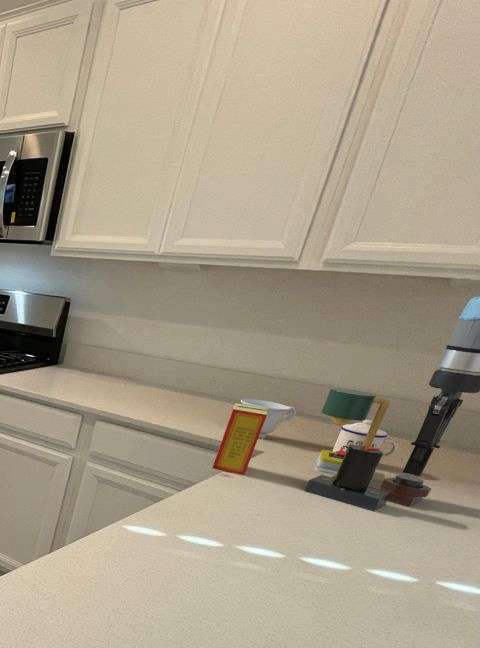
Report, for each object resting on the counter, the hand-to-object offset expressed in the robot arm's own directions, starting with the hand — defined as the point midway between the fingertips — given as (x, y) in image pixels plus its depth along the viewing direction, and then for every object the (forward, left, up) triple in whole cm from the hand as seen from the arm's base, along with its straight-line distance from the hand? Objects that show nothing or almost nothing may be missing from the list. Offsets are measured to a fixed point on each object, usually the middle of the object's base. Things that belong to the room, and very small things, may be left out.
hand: (411, 473), depth 133 cm
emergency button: (+14, -14, -7) cm, 21 cm away
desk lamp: (+13, 0, -2) cm, 13 cm away
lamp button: (0, 0, -3) cm, 3 cm away
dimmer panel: (+6, +13, -6) cm, 16 cm away
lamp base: (+4, 0, -6) cm, 8 cm away
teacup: (+38, -32, -7) cm, 50 cm away
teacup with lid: (+14, -29, -7) cm, 33 cm away
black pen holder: (+6, +13, -3) cm, 15 cm away
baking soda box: (+28, +15, -7) cm, 33 cm away
